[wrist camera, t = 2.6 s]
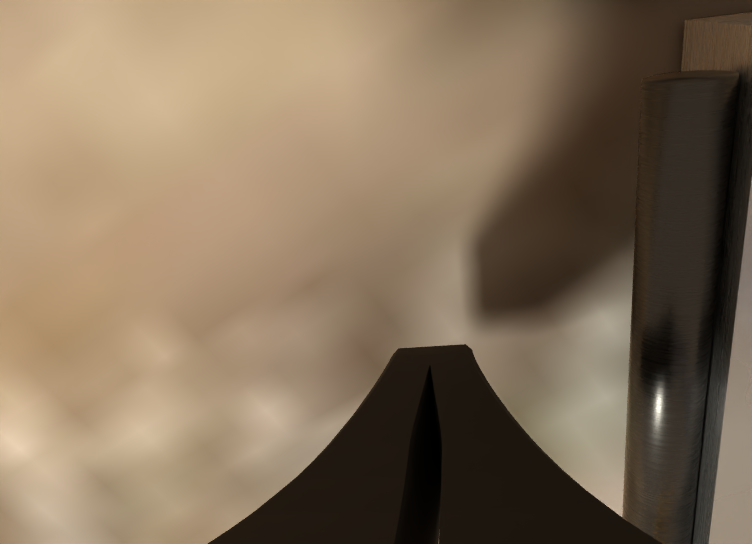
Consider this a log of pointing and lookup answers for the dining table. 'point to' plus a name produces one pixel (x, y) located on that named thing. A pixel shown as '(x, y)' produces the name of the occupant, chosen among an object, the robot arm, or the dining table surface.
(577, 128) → the dining table surface
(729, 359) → the sliding jaw
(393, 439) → the robot arm
